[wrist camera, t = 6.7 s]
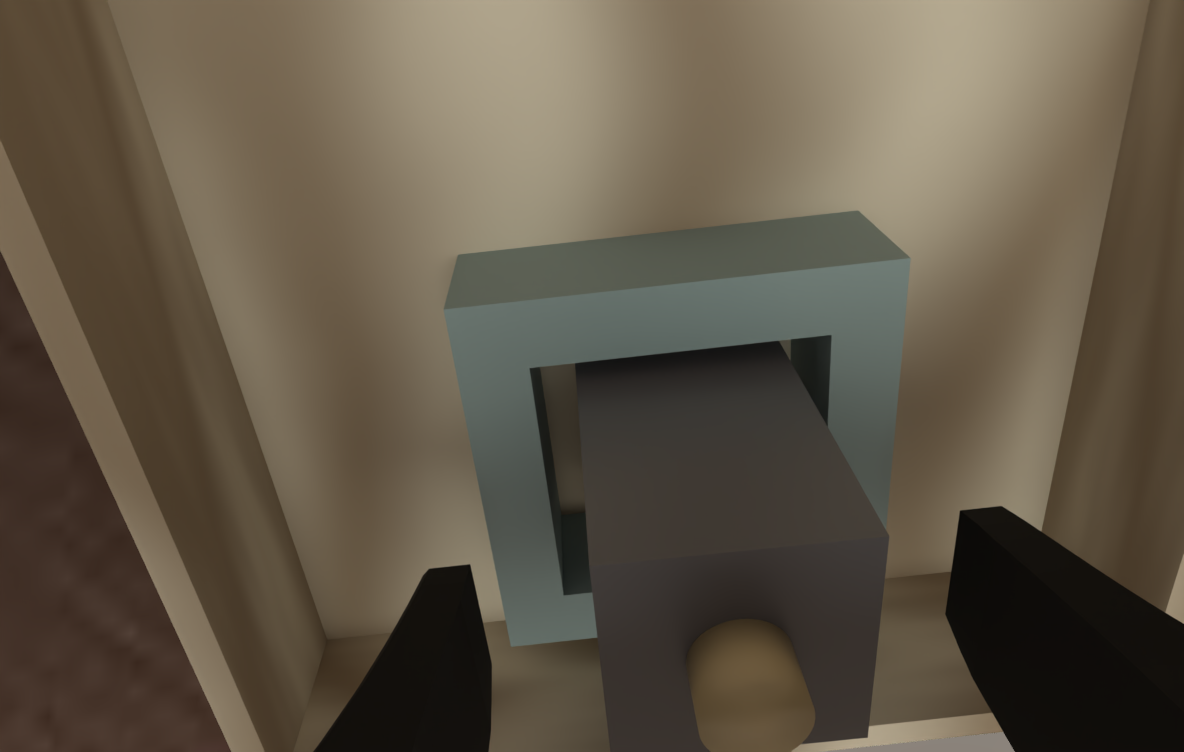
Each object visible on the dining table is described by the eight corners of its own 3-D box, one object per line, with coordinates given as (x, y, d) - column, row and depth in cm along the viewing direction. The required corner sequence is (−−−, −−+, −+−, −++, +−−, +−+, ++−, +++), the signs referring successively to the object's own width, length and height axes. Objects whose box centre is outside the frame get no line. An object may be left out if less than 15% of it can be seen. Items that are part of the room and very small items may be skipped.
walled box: (314, 642, 20) (259, 812, 17) (-75, -457, 11) (-426, -673, 7) (1042, 562, 20) (1162, 714, 16) (1289, -610, 11) (1712, -915, 7)
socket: (515, 563, 19) (510, 646, 17) (458, 254, 15) (443, 309, 13) (839, 527, 19) (878, 606, 17) (858, 210, 15) (910, 258, 13)
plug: (588, 474, 18) (617, 831, 11) (571, 321, 16) (593, 628, 9) (756, 457, 18) (893, 804, 11) (757, 303, 16) (923, 594, 9)
